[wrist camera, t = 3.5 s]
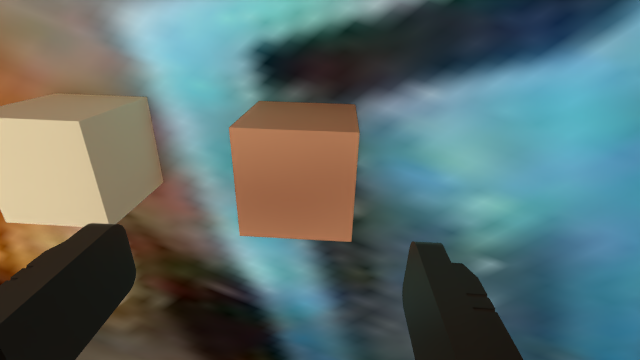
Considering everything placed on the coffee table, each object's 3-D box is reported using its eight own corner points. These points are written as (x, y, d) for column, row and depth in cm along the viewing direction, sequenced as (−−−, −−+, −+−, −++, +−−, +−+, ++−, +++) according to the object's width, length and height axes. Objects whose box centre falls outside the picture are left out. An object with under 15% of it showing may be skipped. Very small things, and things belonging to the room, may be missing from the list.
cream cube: (147, 96, 17) (78, 121, 13) (164, 181, 19) (110, 228, 15) (57, 93, 18) (-43, 116, 13) (83, 177, 20) (6, 222, 15)
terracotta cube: (355, 104, 17) (359, 132, 12) (349, 190, 19) (351, 241, 14) (259, 100, 17) (228, 127, 13) (264, 186, 19) (239, 235, 15)
